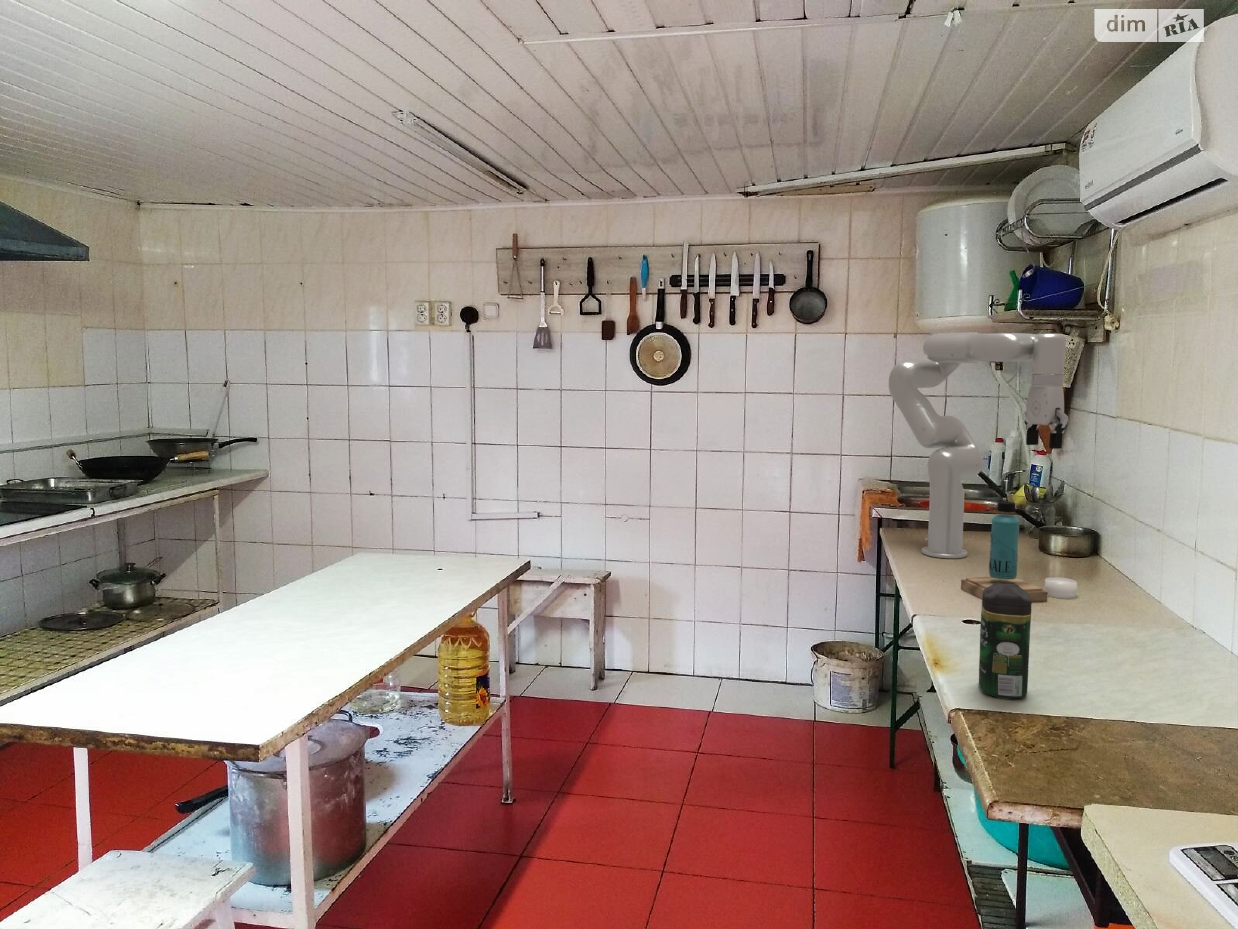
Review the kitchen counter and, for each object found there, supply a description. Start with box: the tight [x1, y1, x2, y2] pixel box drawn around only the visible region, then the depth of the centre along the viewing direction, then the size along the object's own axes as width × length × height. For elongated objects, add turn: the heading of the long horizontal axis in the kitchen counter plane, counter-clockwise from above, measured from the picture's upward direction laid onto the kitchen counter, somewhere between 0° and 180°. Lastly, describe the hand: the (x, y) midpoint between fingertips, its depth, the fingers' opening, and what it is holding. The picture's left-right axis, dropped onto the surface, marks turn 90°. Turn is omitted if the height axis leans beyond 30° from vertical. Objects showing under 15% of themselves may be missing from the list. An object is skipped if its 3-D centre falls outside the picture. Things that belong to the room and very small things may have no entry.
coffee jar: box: [978, 583, 1033, 700], centre depth 153 cm, size 10×8×19 cm
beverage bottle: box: [988, 501, 1020, 580], centre depth 215 cm, size 6×7×20 cm
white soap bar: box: [1044, 576, 1078, 600], centre depth 216 cm, size 7×7×4 cm
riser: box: [960, 576, 1048, 603], centre depth 216 cm, size 14×14×3 cm
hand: (1043, 446), depth 232 cm, fingers open, 9 cm apart
